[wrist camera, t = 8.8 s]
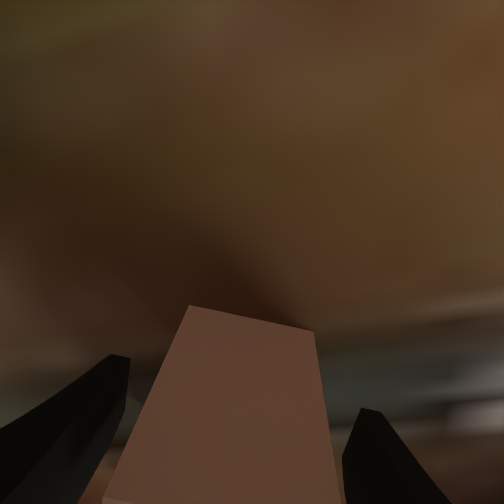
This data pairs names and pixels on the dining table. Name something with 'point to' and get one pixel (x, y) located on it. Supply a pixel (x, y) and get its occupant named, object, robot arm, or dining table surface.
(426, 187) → the dining table surface
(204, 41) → the dining table surface
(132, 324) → the dining table surface
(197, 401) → the terracotta domino
